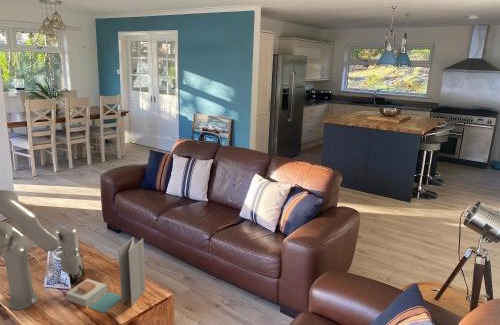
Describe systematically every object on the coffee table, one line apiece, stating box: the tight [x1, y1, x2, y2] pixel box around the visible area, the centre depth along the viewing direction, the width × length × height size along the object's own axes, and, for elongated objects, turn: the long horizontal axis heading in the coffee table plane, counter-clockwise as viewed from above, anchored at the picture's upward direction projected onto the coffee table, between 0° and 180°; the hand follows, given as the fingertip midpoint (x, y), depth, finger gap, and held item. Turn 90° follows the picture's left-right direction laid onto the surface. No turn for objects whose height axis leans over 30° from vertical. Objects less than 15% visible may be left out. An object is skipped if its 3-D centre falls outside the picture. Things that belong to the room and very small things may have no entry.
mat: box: [87, 291, 122, 314], centre depth 187 cm, size 10×14×1 cm
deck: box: [65, 278, 108, 308], centre depth 191 cm, size 13×14×4 cm
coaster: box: [77, 280, 96, 294], centre depth 191 cm, size 6×6×2 cm
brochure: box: [117, 236, 146, 307], centre depth 188 cm, size 14×6×30 cm, turn 168°
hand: (74, 283), depth 194 cm, fingers closed
